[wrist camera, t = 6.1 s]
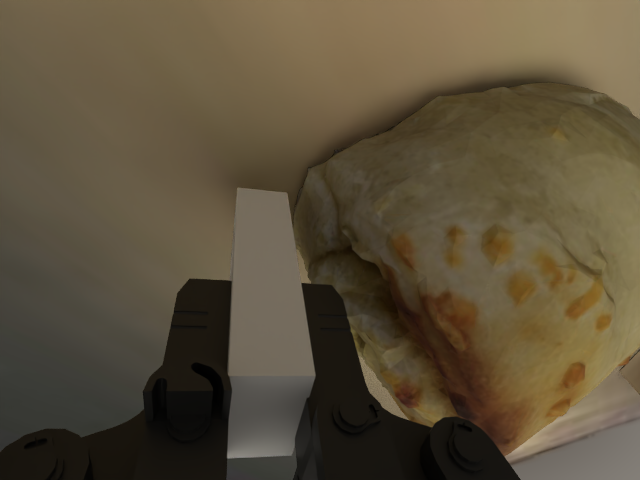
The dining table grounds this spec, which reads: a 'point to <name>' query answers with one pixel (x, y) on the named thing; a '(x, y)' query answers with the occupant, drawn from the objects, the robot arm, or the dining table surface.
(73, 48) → the dining table surface
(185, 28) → the dining table surface
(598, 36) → the dining table surface
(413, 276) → the pastry
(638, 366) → the wooden block
